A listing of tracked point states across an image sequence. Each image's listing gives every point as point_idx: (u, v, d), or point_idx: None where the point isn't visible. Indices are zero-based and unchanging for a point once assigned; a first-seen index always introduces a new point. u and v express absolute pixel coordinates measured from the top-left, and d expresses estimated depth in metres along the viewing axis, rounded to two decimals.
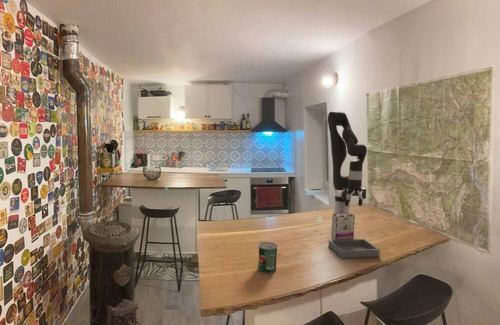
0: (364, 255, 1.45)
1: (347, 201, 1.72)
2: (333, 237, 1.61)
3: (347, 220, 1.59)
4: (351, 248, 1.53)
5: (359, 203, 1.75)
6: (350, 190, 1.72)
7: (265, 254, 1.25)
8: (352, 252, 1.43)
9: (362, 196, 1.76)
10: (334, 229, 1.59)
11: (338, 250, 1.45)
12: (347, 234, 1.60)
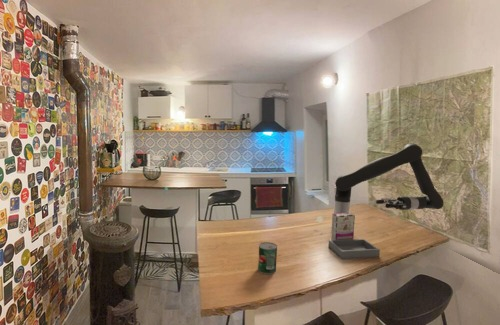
0: (364, 255, 1.45)
1: (391, 207, 1.60)
2: (333, 237, 1.61)
3: (347, 220, 1.59)
4: (351, 248, 1.53)
5: (379, 201, 1.68)
6: None
7: (265, 254, 1.25)
8: (352, 252, 1.43)
9: None
10: (334, 229, 1.59)
11: (338, 250, 1.45)
12: (347, 234, 1.60)
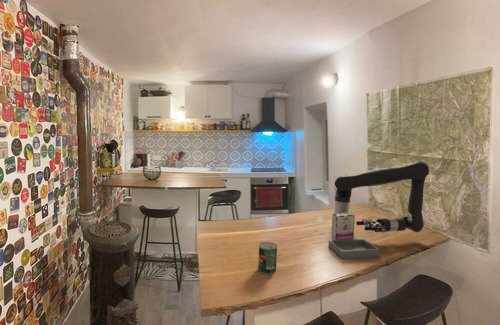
0: (364, 255, 1.45)
1: None
2: (333, 237, 1.61)
3: (347, 220, 1.59)
4: (351, 248, 1.53)
5: (359, 223, 1.68)
6: None
7: (265, 254, 1.25)
8: (352, 252, 1.43)
9: None
10: (334, 229, 1.59)
11: (338, 250, 1.45)
12: (347, 234, 1.60)
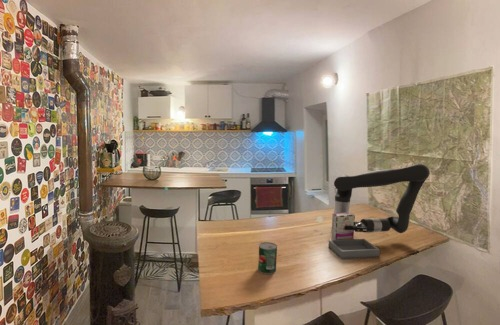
0: (364, 255, 1.45)
1: (350, 229, 1.59)
2: (333, 237, 1.61)
3: (347, 220, 1.59)
4: (351, 248, 1.53)
5: None
6: None
7: (265, 254, 1.25)
8: (352, 252, 1.43)
9: None
10: (334, 228, 1.59)
11: (338, 250, 1.45)
12: (347, 234, 1.60)
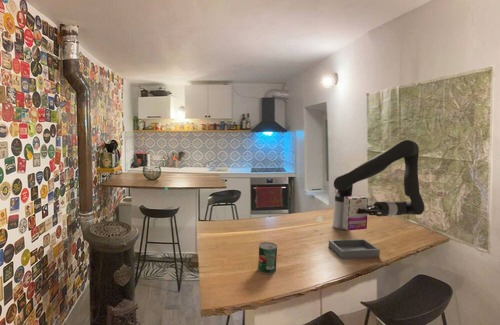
0: (364, 255, 1.45)
1: (363, 213, 1.48)
2: (345, 222, 1.49)
3: (360, 202, 1.47)
4: (351, 248, 1.53)
5: None
6: None
7: (265, 254, 1.25)
8: (352, 252, 1.43)
9: None
10: (346, 212, 1.48)
11: (338, 250, 1.45)
12: (360, 218, 1.49)
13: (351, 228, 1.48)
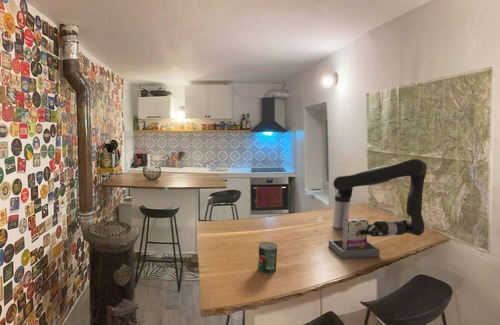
0: (364, 255, 1.45)
1: (366, 234, 1.46)
2: (344, 244, 1.49)
3: (360, 225, 1.47)
4: None
5: None
6: None
7: (265, 254, 1.25)
8: (352, 252, 1.43)
9: None
10: (346, 235, 1.48)
11: (338, 250, 1.45)
12: (360, 241, 1.48)
13: None
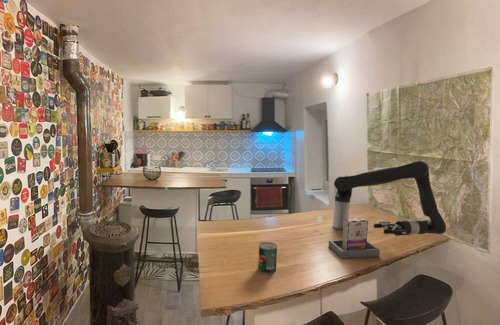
0: (364, 255, 1.45)
1: None
2: (344, 244, 1.49)
3: (360, 225, 1.47)
4: None
5: (376, 226, 1.56)
6: None
7: (265, 254, 1.25)
8: (352, 252, 1.43)
9: None
10: (346, 235, 1.48)
11: (338, 250, 1.45)
12: (360, 241, 1.48)
13: None
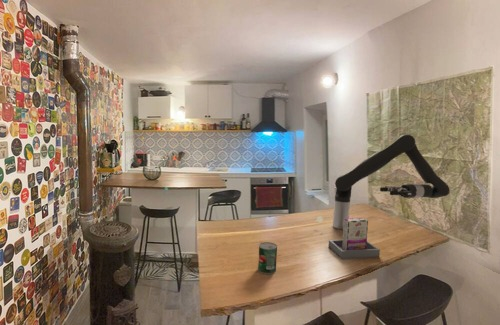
0: (364, 255, 1.45)
1: (395, 194, 1.54)
2: (344, 244, 1.49)
3: (360, 225, 1.47)
4: None
5: (383, 189, 1.62)
6: None
7: (265, 254, 1.25)
8: (352, 252, 1.43)
9: (387, 187, 1.65)
10: (346, 235, 1.48)
11: (338, 250, 1.45)
12: (360, 241, 1.48)
13: None
